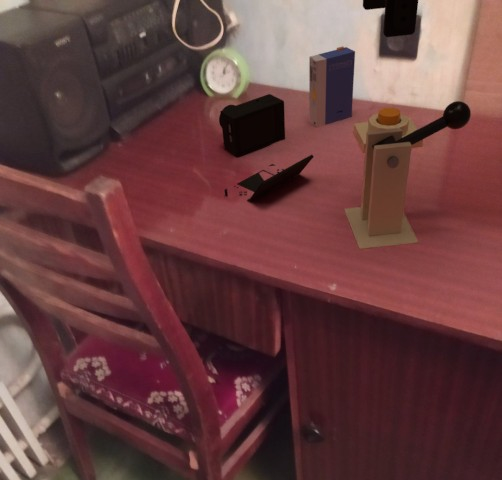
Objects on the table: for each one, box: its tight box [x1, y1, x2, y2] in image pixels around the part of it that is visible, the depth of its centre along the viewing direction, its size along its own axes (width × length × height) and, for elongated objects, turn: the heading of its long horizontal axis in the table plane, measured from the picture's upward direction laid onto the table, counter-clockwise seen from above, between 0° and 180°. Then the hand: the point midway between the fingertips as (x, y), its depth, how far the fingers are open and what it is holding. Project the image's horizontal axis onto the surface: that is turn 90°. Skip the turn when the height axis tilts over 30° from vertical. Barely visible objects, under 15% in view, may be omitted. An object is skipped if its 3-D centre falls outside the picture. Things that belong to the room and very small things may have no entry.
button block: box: [353, 112, 424, 154], centre depth 100 cm, size 10×8×4 cm
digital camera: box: [218, 93, 286, 158], centre depth 101 cm, size 10×5×7 cm, turn 124°
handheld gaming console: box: [224, 154, 314, 203], centre depth 90 cm, size 12×7×10 cm
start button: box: [378, 107, 401, 126], centre depth 99 cm, size 4×4×2 cm
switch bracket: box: [343, 128, 420, 250], centre depth 77 cm, size 8×10×14 cm
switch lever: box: [372, 100, 472, 150], centre depth 72 cm, size 12×3×3 cm, turn 95°
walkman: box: [308, 45, 356, 128], centre depth 104 cm, size 8×3×12 cm, turn 117°
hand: (387, 20), depth 64 cm, fingers open, 9 cm apart
